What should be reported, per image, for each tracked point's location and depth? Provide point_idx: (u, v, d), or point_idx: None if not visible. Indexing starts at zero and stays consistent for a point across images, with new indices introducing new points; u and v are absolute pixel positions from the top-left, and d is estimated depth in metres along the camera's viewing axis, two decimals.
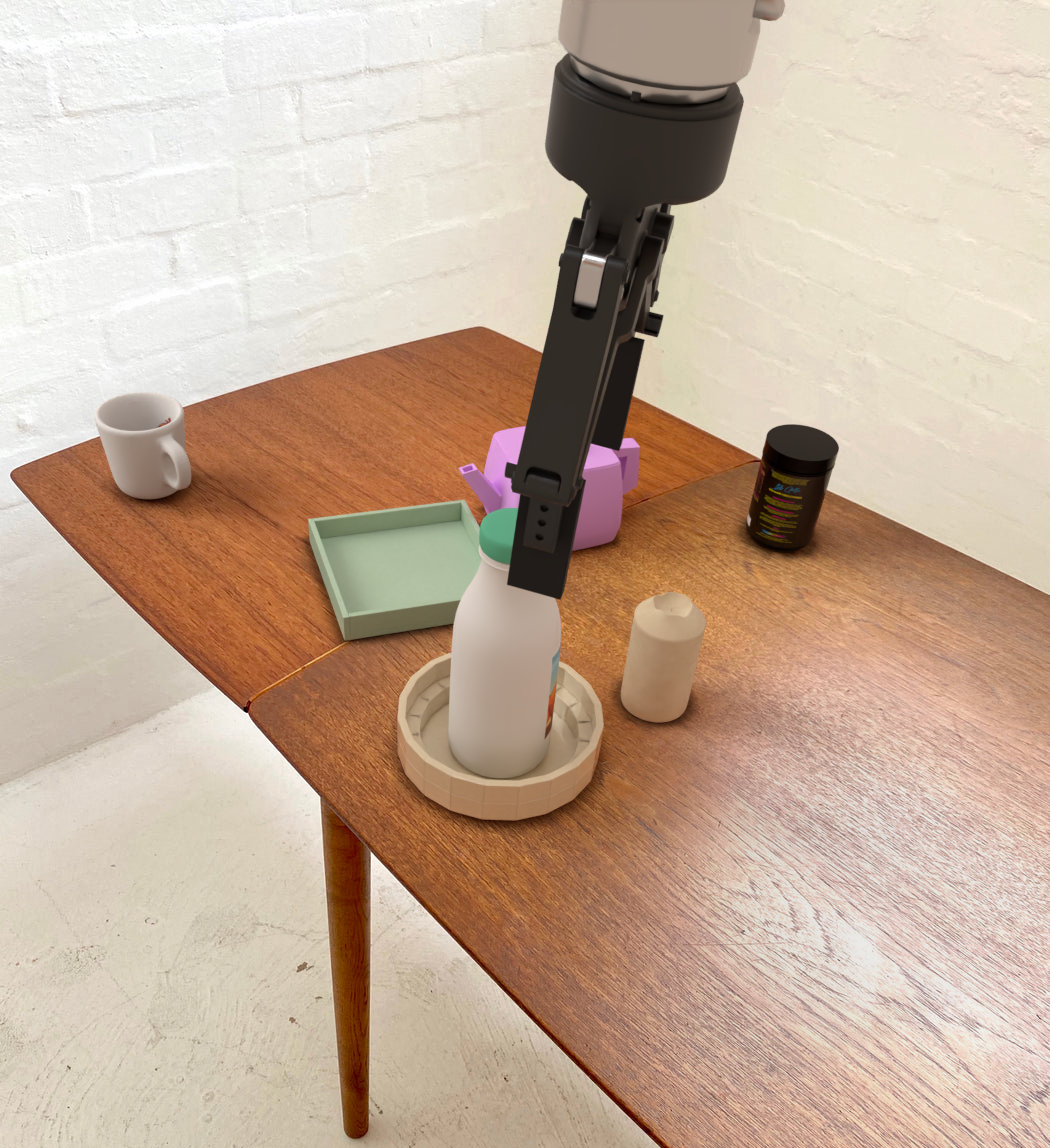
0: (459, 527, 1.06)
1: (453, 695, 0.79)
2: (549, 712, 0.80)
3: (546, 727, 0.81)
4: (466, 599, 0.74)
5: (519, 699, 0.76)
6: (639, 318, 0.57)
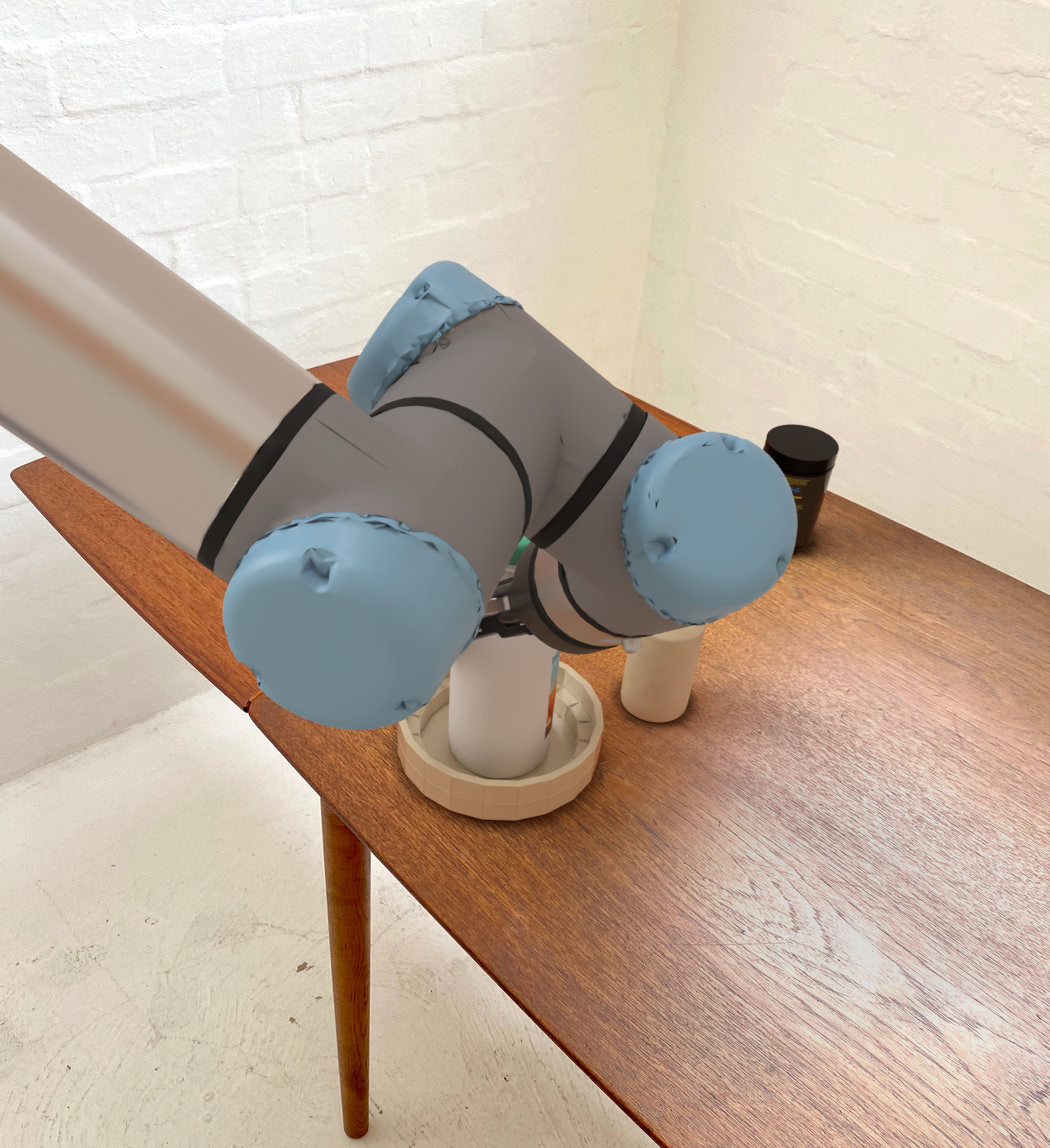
0: None
1: (453, 695, 0.79)
2: (549, 712, 0.80)
3: (546, 727, 0.81)
4: None
5: (519, 699, 0.76)
6: None
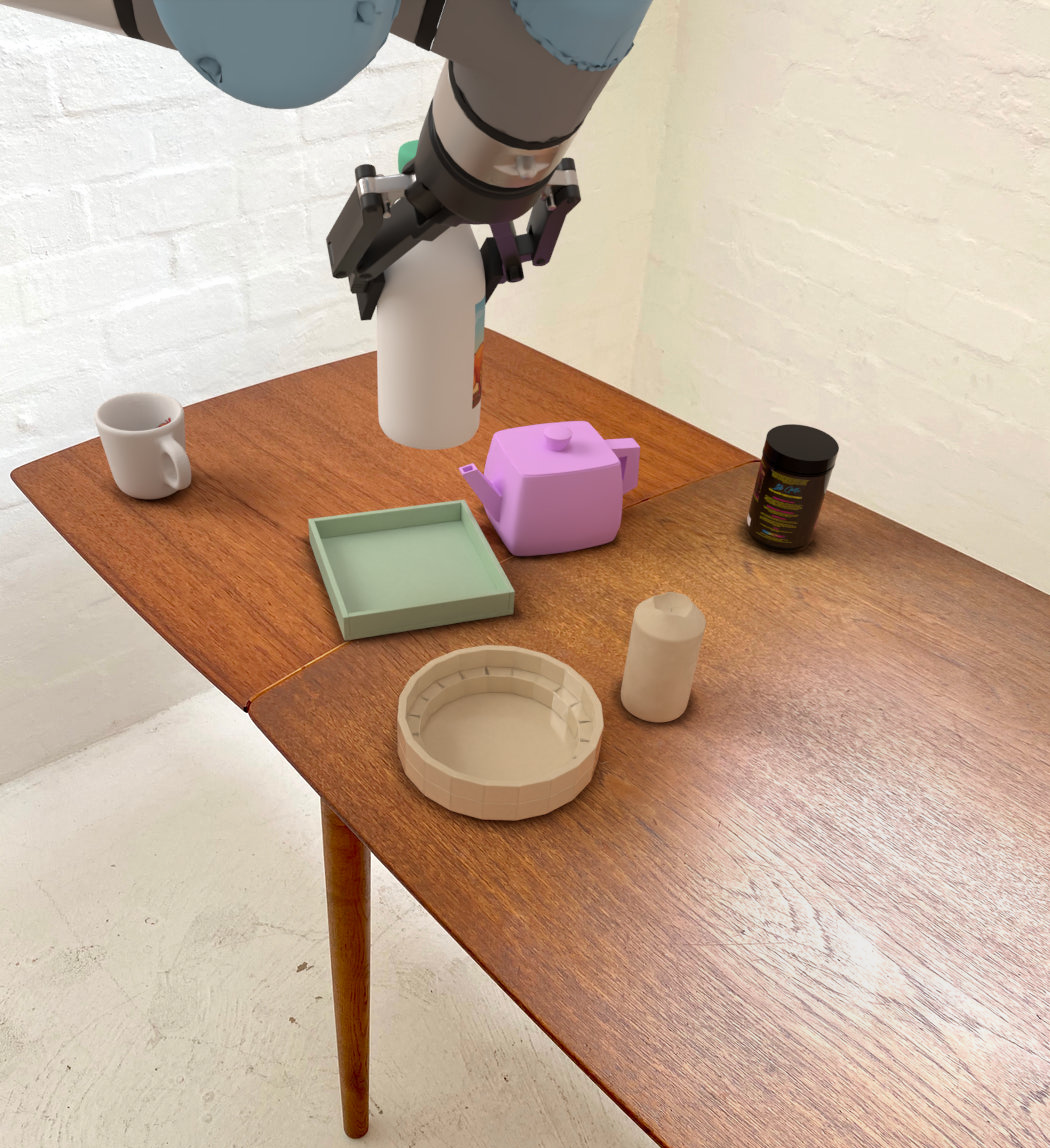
0: (459, 527, 1.06)
1: (379, 355, 0.79)
2: (475, 376, 0.80)
3: (473, 394, 0.81)
4: None
5: (442, 348, 0.77)
6: None
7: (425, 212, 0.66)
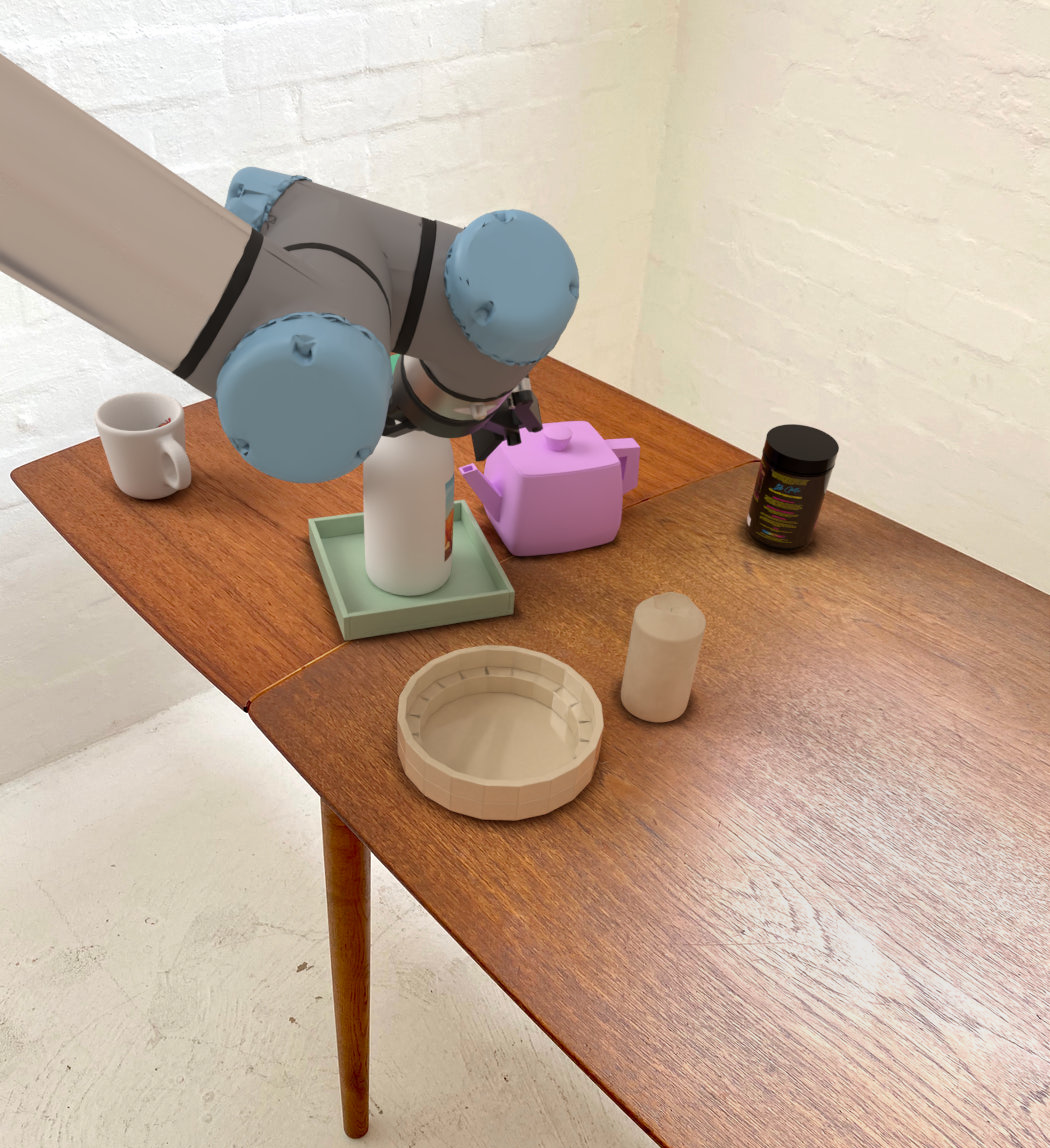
0: (459, 527, 1.06)
1: (365, 520, 0.94)
2: (447, 536, 0.95)
3: (445, 550, 0.96)
4: None
5: (418, 519, 0.92)
6: None
7: (400, 420, 0.80)
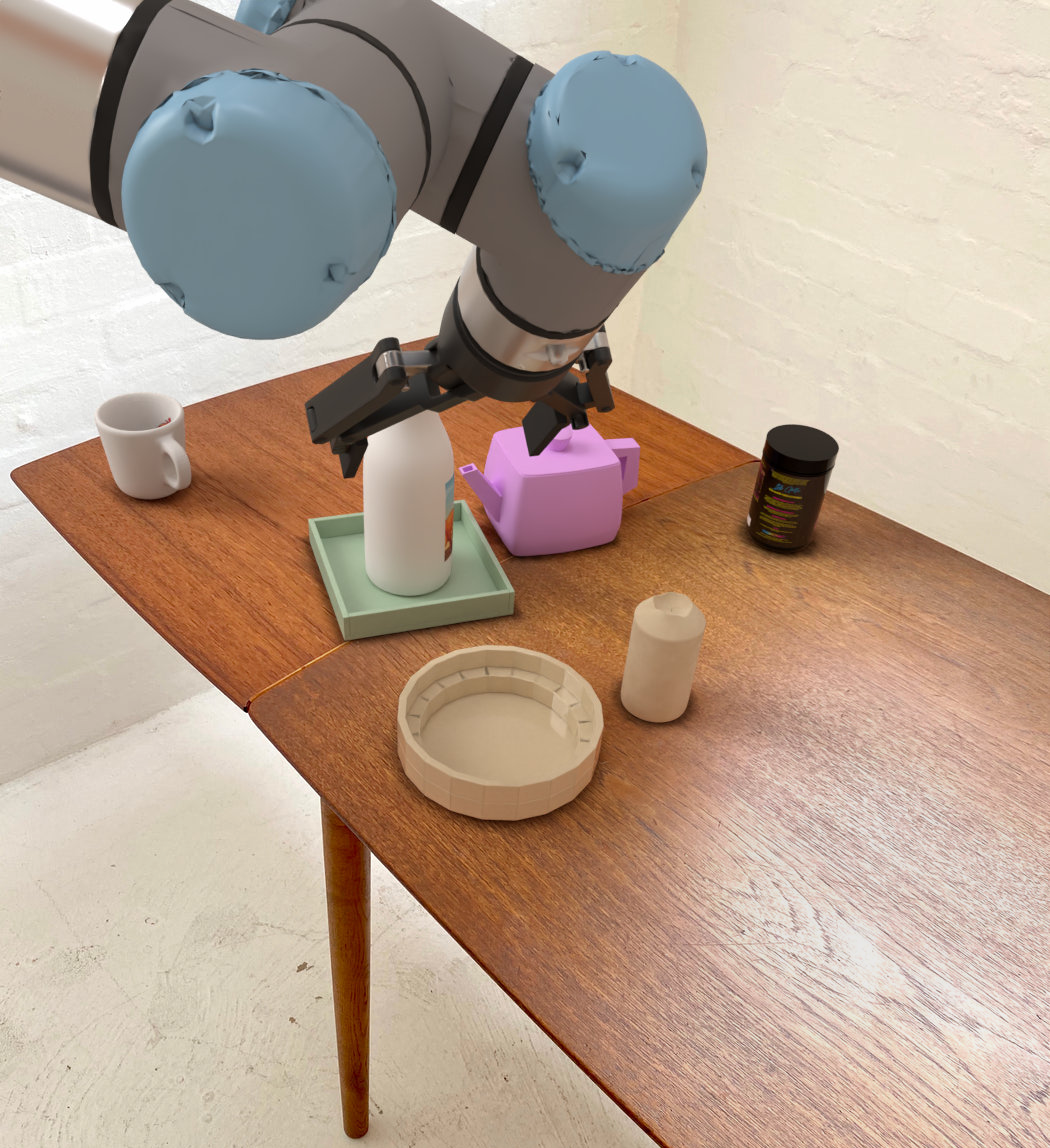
0: (459, 527, 1.06)
1: (365, 520, 0.94)
2: (447, 536, 0.95)
3: (445, 550, 0.96)
4: None
5: (418, 519, 0.92)
6: None
7: (448, 388, 0.64)
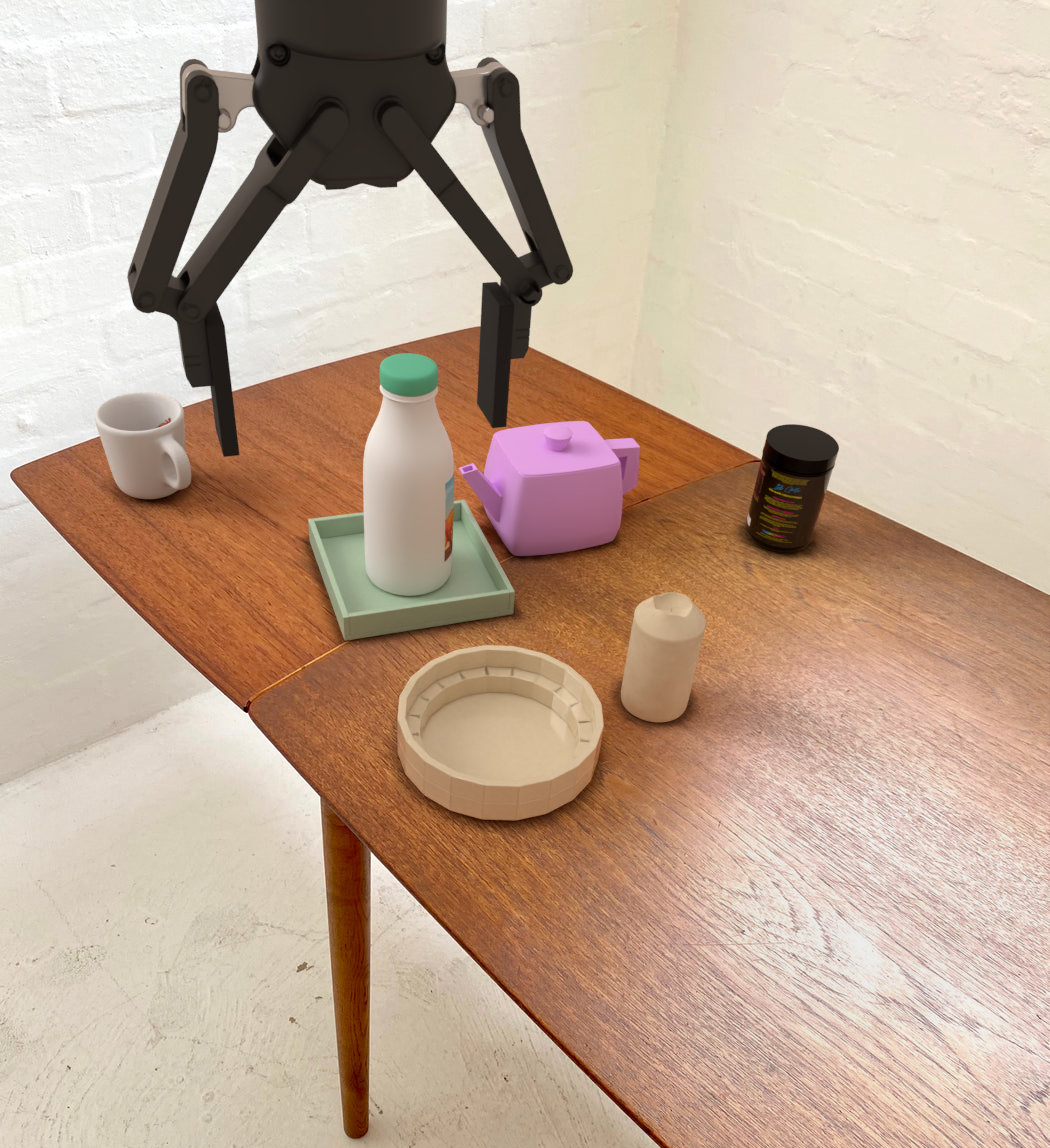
0: (459, 527, 1.06)
1: (365, 520, 0.94)
2: (447, 536, 0.95)
3: (445, 550, 0.96)
4: (372, 432, 0.90)
5: (418, 519, 0.92)
6: (494, 269, 0.52)
7: (293, 138, 0.45)
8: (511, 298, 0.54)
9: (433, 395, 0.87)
